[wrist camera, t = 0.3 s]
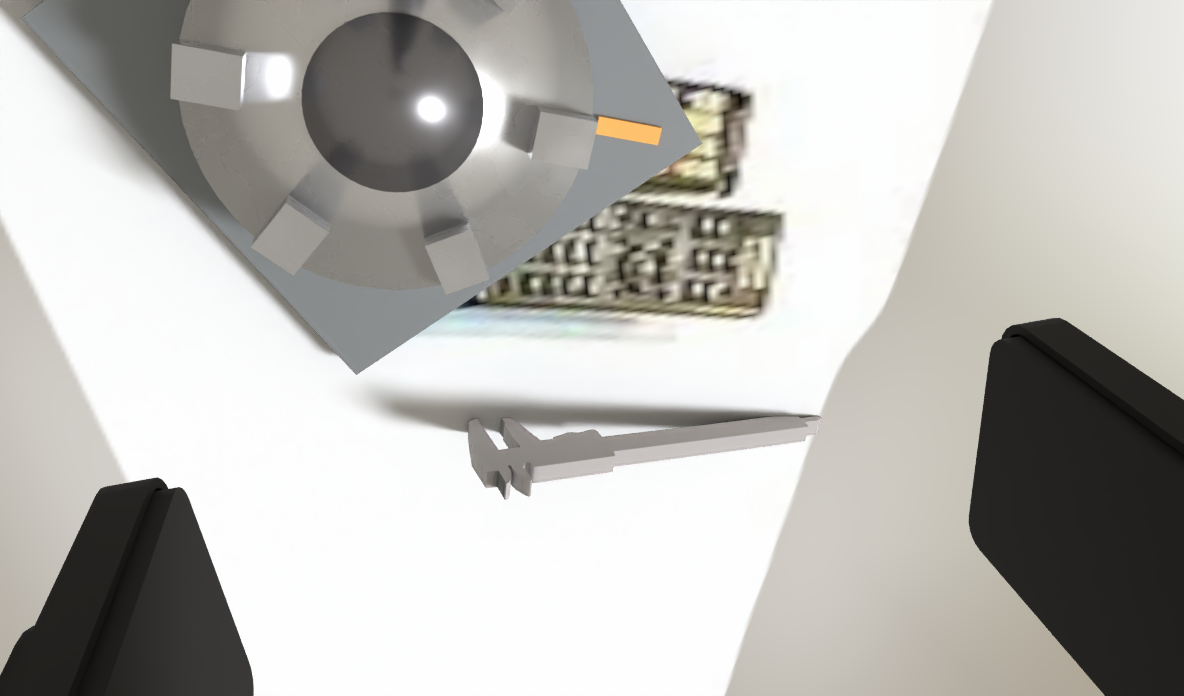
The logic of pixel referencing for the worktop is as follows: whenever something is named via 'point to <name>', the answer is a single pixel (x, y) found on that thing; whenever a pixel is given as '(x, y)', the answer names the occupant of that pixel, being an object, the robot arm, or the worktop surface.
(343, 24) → the grey round knob
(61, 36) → the mount plate
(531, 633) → the worktop surface
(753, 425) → the caliper
